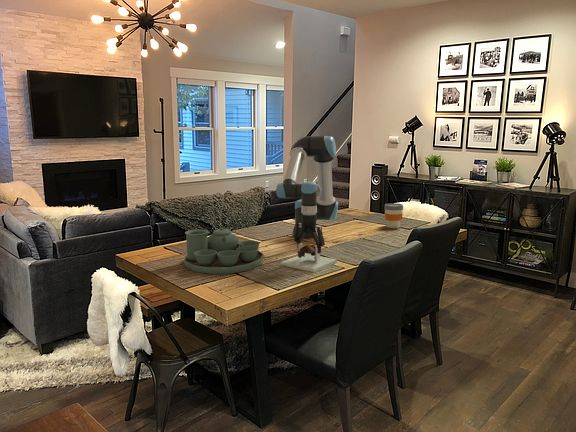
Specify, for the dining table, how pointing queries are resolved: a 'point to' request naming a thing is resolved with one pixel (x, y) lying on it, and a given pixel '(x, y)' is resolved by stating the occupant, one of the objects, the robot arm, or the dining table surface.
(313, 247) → the pottery mug
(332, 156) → the robot arm
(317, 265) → the sage tile
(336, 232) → the dining table surface
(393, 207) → the reusable coffee cup
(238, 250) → the tea set
